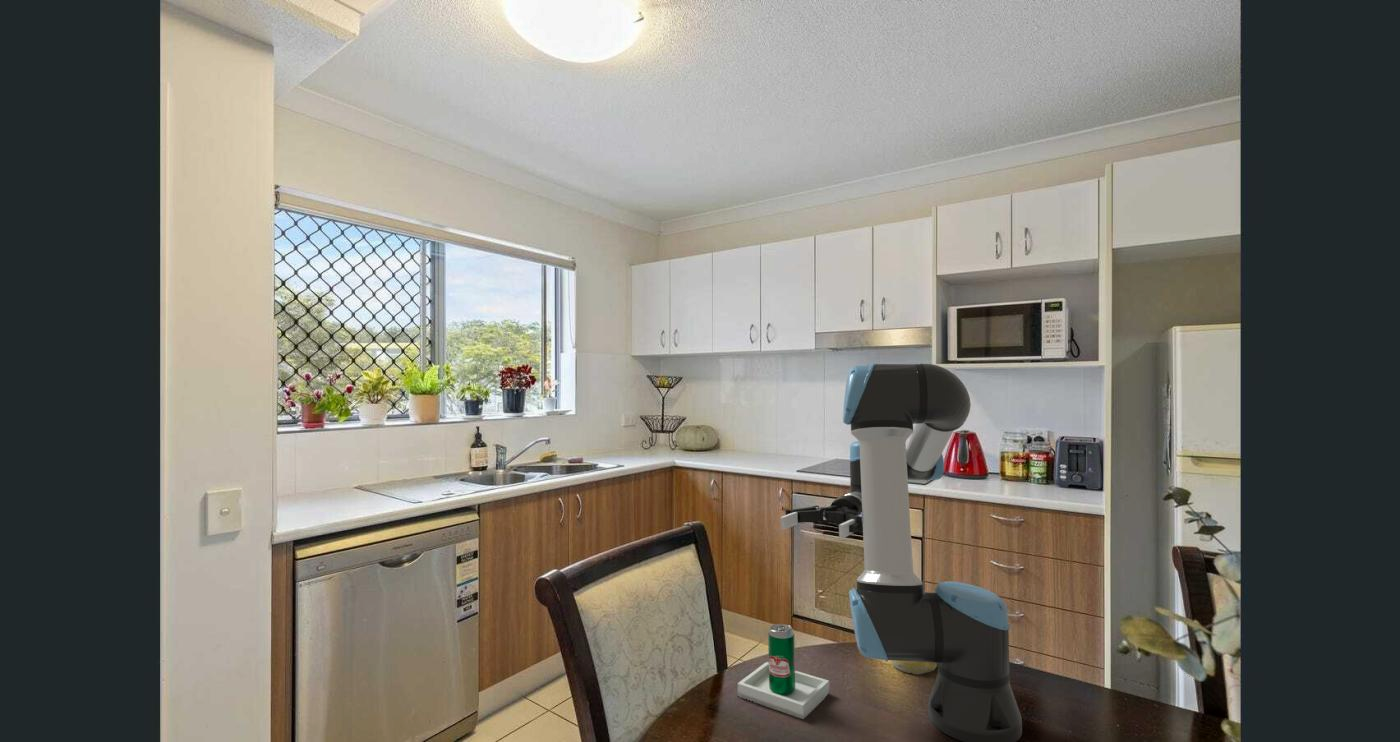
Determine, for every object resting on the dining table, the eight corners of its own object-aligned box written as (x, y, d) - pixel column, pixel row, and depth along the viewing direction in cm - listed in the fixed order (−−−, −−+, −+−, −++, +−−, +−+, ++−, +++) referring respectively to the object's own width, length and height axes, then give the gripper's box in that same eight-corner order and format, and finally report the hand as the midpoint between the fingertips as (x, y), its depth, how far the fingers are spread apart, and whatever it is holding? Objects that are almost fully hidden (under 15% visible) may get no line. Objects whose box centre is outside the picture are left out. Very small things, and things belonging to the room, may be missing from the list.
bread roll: (883, 662, 132) (883, 643, 132) (917, 655, 135) (916, 637, 135) (909, 679, 125) (908, 659, 125) (944, 671, 128) (943, 652, 128)
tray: (829, 693, 119) (829, 680, 119) (803, 719, 110) (802, 705, 110) (766, 673, 127) (766, 661, 127) (737, 696, 118) (737, 683, 119)
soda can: (765, 693, 118) (764, 630, 118) (774, 681, 122) (773, 621, 123) (790, 699, 116) (789, 635, 116) (798, 687, 120) (797, 625, 120)
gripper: (903, 533, 139) (867, 554, 122) (803, 520, 154) (759, 537, 137) (902, 499, 139) (867, 516, 122) (803, 490, 154) (759, 503, 137)
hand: (810, 527), depth 129 cm, fingers open, 13 cm apart
